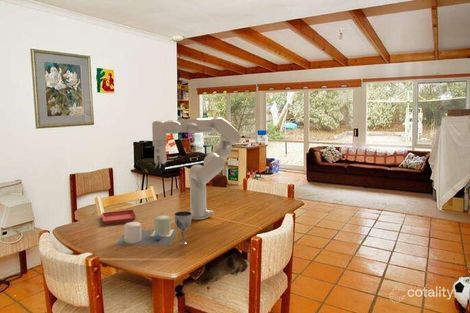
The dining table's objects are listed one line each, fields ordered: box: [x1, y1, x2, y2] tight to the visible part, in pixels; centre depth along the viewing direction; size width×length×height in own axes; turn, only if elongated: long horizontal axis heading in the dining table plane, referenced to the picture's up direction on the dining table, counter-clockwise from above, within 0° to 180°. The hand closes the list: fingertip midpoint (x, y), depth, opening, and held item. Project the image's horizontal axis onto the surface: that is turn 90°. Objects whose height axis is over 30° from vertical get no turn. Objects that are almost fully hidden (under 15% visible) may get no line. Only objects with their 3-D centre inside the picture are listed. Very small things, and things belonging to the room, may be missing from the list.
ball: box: [154, 234, 161, 241], centre depth 159 cm, size 3×3×3 cm
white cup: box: [123, 221, 142, 243], centre depth 159 cm, size 8×8×8 cm
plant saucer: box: [101, 209, 137, 225], centre depth 193 cm, size 18×18×3 cm
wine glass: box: [174, 210, 193, 245], centre depth 156 cm, size 8×8×15 cm
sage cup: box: [153, 214, 171, 235], centre depth 169 cm, size 8×8×8 cm
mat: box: [114, 228, 178, 246], centre depth 164 cm, size 26×21×1 cm
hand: (160, 173), depth 186 cm, fingers open, 9 cm apart
